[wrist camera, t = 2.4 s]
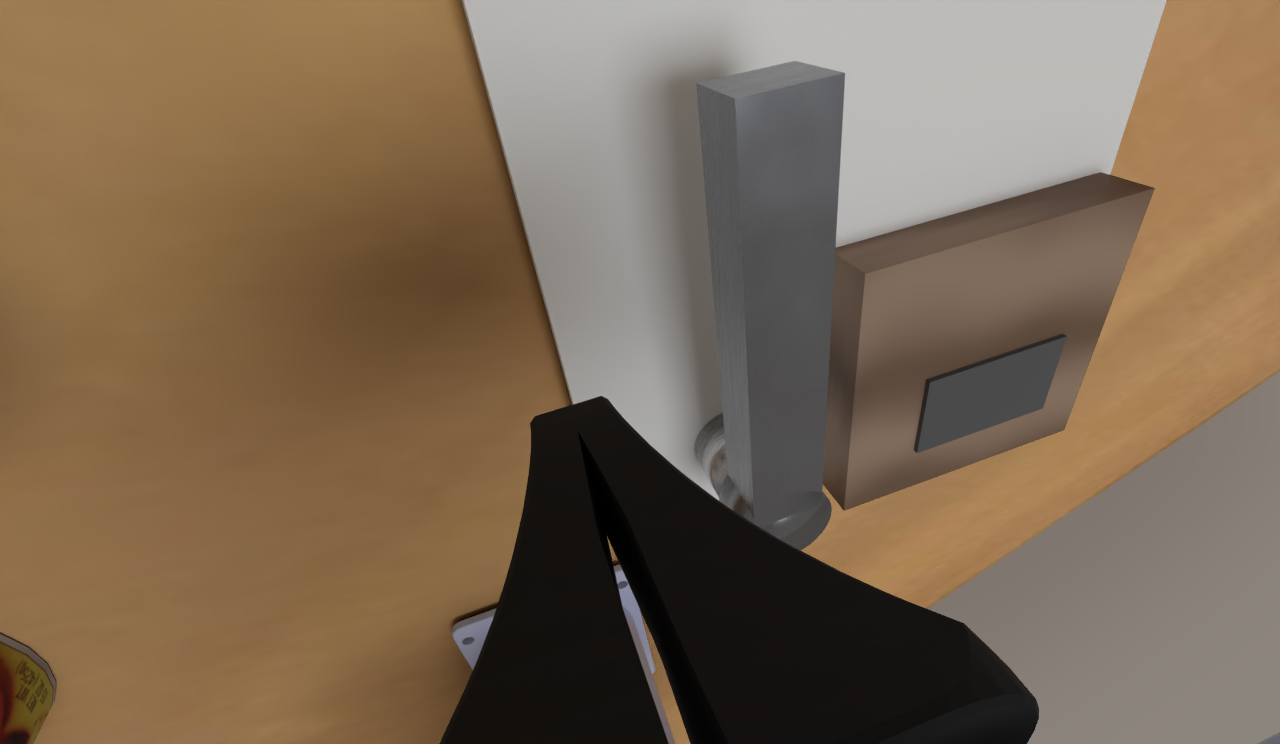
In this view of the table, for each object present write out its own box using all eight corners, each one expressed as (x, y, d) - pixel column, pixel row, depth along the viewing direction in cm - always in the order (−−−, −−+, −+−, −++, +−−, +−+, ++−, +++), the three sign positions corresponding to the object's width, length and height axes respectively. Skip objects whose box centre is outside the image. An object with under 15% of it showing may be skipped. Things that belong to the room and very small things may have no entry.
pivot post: (765, 455, 24) (792, 492, 23) (697, 478, 24) (719, 518, 22) (764, 399, 23) (793, 434, 21) (690, 423, 22) (714, 461, 20)
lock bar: (800, 500, 22) (829, 541, 21) (721, 529, 22) (745, 572, 20) (810, 57, 14) (863, 68, 12) (679, 87, 13) (715, 103, 11)
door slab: (1027, 404, 28) (1064, 430, 27) (818, 478, 26) (844, 510, 25) (1100, 172, 22) (1154, 188, 20) (829, 249, 20) (865, 273, 18)
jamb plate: (1019, 389, 29) (1036, 400, 28) (607, 532, 26) (613, 550, 25) (1181, -152, 17) (1217, -157, 16) (456, -19, 14) (458, -18, 13)
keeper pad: (1039, 405, 25) (1042, 408, 25) (913, 450, 24) (916, 453, 24) (1062, 333, 23) (1067, 336, 23) (926, 379, 22) (930, 382, 22)
